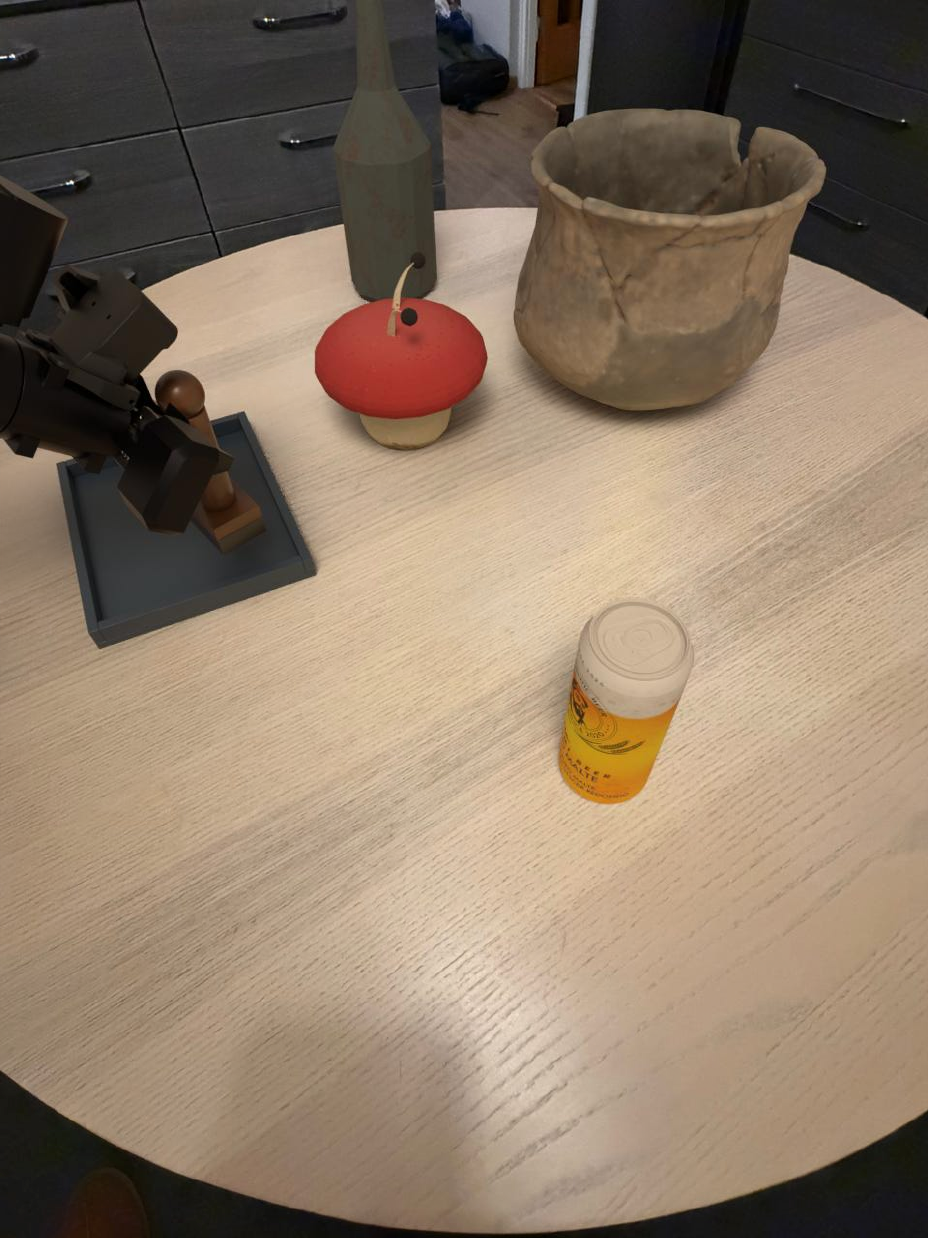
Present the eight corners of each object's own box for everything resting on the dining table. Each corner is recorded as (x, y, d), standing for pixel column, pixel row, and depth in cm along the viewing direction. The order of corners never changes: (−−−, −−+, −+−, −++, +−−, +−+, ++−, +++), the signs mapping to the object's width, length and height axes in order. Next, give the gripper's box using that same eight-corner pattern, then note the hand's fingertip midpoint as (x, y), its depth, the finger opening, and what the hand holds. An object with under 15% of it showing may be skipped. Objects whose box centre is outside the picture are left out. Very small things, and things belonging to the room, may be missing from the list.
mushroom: (485, 481, 69) (487, 332, 57) (315, 479, 69) (282, 331, 57) (488, 380, 78) (489, 235, 66) (339, 379, 79) (314, 234, 67)
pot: (721, 316, 85) (781, 98, 68) (781, 448, 71) (876, 213, 54) (504, 322, 85) (510, 105, 68) (519, 456, 71) (532, 223, 54)
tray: (99, 649, 58) (87, 633, 56) (65, 480, 70) (55, 462, 68) (316, 575, 62) (312, 558, 60) (249, 428, 74) (244, 410, 72)
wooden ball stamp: (266, 531, 60) (219, 378, 49) (223, 555, 58) (163, 404, 47) (233, 498, 62) (180, 346, 51) (190, 521, 60) (126, 369, 49)
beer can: (542, 746, 52) (561, 612, 40) (618, 716, 53) (658, 577, 41) (584, 823, 48) (619, 701, 36) (665, 788, 50) (723, 660, 38)
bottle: (436, 264, 94) (421, -52, 70) (438, 305, 88) (423, -26, 64) (354, 267, 94) (311, -48, 70) (350, 309, 88) (303, -21, 64)
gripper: (128, 320, 36) (346, 415, 49) (-13, 197, 44) (204, 305, 58) (44, 517, 39) (270, 556, 52) (-73, 365, 48) (146, 432, 61)
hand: (221, 454), depth 55 cm, fingers closed on wooden ball stamp, 2 cm apart
